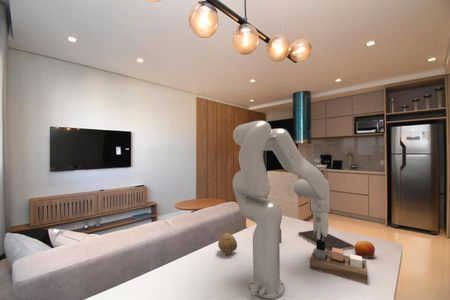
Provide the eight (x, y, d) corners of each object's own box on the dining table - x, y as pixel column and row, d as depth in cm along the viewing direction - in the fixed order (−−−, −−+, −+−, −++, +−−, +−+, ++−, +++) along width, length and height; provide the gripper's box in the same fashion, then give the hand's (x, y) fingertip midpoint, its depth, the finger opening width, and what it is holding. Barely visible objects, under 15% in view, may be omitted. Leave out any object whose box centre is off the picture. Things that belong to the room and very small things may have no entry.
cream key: (362, 268, 78) (362, 260, 78) (350, 265, 80) (350, 258, 80) (361, 264, 82) (361, 256, 82) (350, 261, 84) (350, 253, 84)
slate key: (325, 259, 85) (325, 252, 85) (314, 256, 87) (314, 249, 87) (326, 255, 89) (326, 248, 89) (316, 253, 91) (316, 246, 91)
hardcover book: (329, 254, 97) (329, 249, 97) (297, 236, 119) (297, 232, 119) (354, 249, 102) (354, 244, 102) (319, 232, 124) (319, 229, 124)
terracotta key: (342, 261, 82) (342, 253, 82) (331, 258, 84) (331, 251, 84) (343, 256, 85) (343, 249, 85) (332, 254, 87) (332, 247, 87)
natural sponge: (213, 253, 98) (213, 233, 98) (227, 247, 104) (227, 228, 104) (226, 261, 91) (226, 238, 91) (240, 254, 97) (240, 233, 97)
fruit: (370, 260, 88) (361, 240, 92) (356, 261, 95) (348, 243, 99) (383, 257, 90) (374, 238, 95) (369, 259, 97) (361, 241, 101)
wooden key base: (367, 284, 74) (367, 274, 74) (309, 268, 85) (309, 259, 85) (366, 268, 84) (366, 260, 84) (314, 256, 95) (314, 248, 95)
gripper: (327, 212, 80) (328, 259, 80) (331, 204, 93) (332, 244, 92) (307, 210, 84) (308, 254, 84) (313, 202, 97) (314, 241, 96)
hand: (320, 249), depth 88 cm, fingers closed
